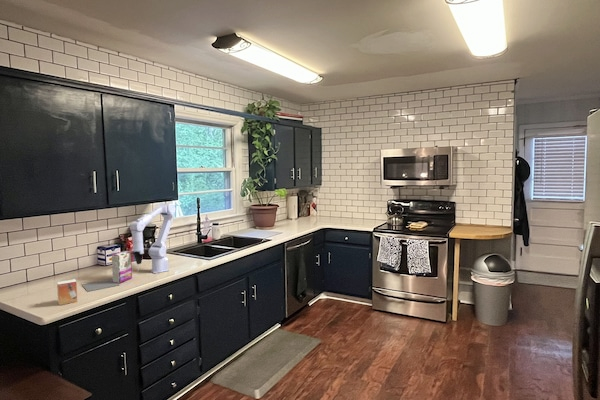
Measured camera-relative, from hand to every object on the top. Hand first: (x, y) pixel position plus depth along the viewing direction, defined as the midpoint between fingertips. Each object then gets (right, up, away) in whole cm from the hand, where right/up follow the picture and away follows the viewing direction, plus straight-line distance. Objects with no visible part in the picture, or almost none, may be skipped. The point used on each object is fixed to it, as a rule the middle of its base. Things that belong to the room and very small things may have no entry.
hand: (139, 263), depth 224 cm
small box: (-18, -13, -39) cm, 45 cm away
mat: (-16, -10, -13) cm, 23 cm away
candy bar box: (-7, -9, -5) cm, 13 cm away
